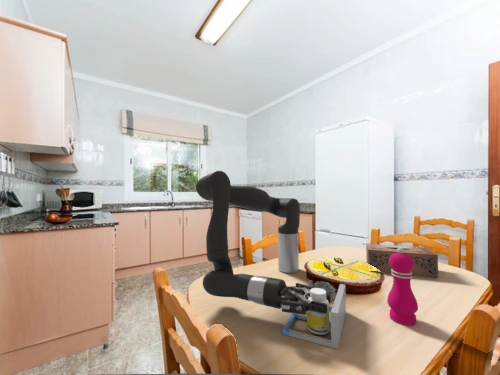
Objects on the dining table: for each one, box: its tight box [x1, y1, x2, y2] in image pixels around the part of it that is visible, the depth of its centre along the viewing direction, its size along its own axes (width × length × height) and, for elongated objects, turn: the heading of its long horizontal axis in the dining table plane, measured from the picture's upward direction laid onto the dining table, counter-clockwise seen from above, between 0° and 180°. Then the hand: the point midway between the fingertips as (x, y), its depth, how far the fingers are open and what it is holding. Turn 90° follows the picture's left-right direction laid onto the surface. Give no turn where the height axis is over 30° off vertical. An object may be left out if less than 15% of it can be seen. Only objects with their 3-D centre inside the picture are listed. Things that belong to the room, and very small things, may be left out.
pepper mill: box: [386, 247, 419, 326], centre depth 66 cm, size 7×7×20 cm
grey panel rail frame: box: [281, 283, 347, 350], centre depth 65 cm, size 19×14×8 cm
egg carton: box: [307, 278, 337, 301], centre depth 84 cm, size 11×8×4 cm
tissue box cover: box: [365, 243, 439, 279], centre depth 109 cm, size 26×14×10 cm, turn 67°
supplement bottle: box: [306, 288, 330, 336], centre depth 61 cm, size 5×5×10 cm
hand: (328, 303), depth 60 cm, fingers closed on supplement bottle, 5 cm apart
